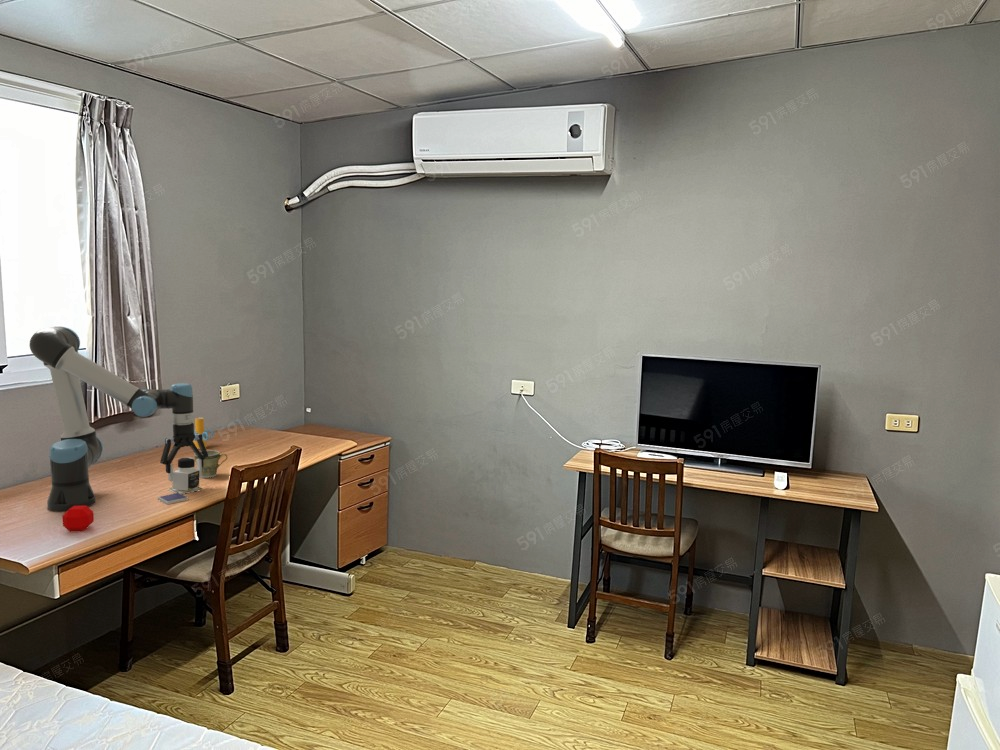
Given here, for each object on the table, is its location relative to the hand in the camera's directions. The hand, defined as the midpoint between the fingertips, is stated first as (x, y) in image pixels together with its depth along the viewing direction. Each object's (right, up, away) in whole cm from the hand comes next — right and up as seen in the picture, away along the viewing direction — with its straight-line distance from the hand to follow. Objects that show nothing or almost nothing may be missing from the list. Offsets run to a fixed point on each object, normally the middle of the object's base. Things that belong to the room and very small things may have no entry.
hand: (185, 477), depth 282 cm
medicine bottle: (0, -4, +1) cm, 4 cm away
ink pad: (+1, -7, -12) cm, 14 cm away
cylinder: (-23, +5, +68) cm, 72 cm away
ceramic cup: (+2, -2, +21) cm, 21 cm away
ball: (-16, -11, -45) cm, 49 cm away
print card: (0, -5, +1) cm, 5 cm away
